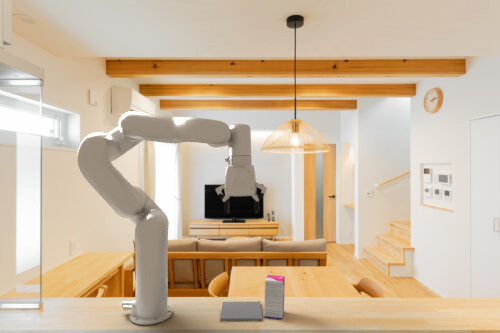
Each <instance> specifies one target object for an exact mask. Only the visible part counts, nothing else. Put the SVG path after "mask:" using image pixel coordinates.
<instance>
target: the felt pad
mask: <svg viewBox="0 0 500 333" xmlns="http://www.w3.org/2000/svg"><path fill="white" fill-rule="evenodd" d="M262 316H263V314H262V307H261V301H222V306H221V312H220V316H219V317H220V318H219V321H220V322H262V321H263V317H262Z"/></svg>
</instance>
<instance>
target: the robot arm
mask: <svg viewBox="0 0 500 333" xmlns="http://www.w3.org/2000/svg"><path fill="white" fill-rule="evenodd" d="M251 130H252V129H251V127H250V125H249V124H245V123H235V124H231V125H228V123H226V122H225V121H222V120H218V119H210V118H203V117H193V116H192V117H191V116H190V117H189V116H188V117H186V116H171V115H166V114H165V115H164V114H163V115H162V114H157V113H156V114H155V113H147V112H140V111H127V112H125V113H124V114H122V115H121V116H120V118H119V121H118V126H117V127H115V128H114V129H113V130H111V131H109V132H108V133H104V132H93V133H90V134H88V135H86V136H85V137H84V138H83V139H82V141H81V142H80V145H79V147H78V149H77V155H76V156H77V157H76V158H77V159H76V160H77V166H78V169H79V171H80V172H81V175H82V176H83V178H84V179H85V180H86V181H87V182H88V183H89V185H90V186H91V187H92V188H93V189H94V191H96V192H97V193H98V195H99V196H100V197H101V198H102V199H103V200H104V202H106V203H107V204H108V206H109V207H111V209H112V211H114V213H116V214H117V215H118V216H120V217H121V218H125V219H129V220H130V221H131V222H132V223H133V224H134V225H135V228H134V247H135V265H134V266H135V296H134V297H135V299H133V300H132V301H131V300H124V301H122V302H121V307H122V310H123V311H130V313H129V320H130V322H132V323H134V324H136V325H144V326H145V325H146V326H148V325H154V324H155V325H156V324H158V323H162V322H165V321H167V320H168V319H169V318H170V317H172V315H173V307H172V306H171V305H169V304H168V298H169V296H168V286H169V285H168V283H169V282H168V276H169V275H168V274H169V272H168V271H169V270H168V269H169V265H168V264H169V263H168V262H169V261H168V260H169V258H168V257H169V256H168V255H169V254H168V253H169V250H168V248H169V246H168V245H169V241H168V240H169V223H170V222H169V219H168V216H167V215H166V213H165V212H164V211H163V210H162V209H161V208H160V206H159V205H158V204H157V203H156V202H155V201H154V200H153V199H152V198H151V196H150V195H149V194H147V193H146V192H145V191H144V189H142V188H141V187H139V186H136V185H133V184H131V183H130V182H129V181H128V180H127V179H126V178H125V177H124V175H122V173H121V172H120V171H119V170H118V168H116V167H115V166H114V165H113V164H112V162H113V161H116V160H117V159H119V158H120V157H122V156H123V155H125V154H126V153H128V152H129V151H130V150H132V149H134V148H135V147H136V146H138V145H139V144H140V143H142V142H143V141H145V142H146V141H148V142H157V143H163V144H164V143H165V144H180V143H199V144H207V145H208V146H210V147H212V148H223V147H228V157H227V158H225V159H224V164H225V163H227V164H228V165H227V166H226V169H225V176H224V183H223V184H222V185H220V186H218V187H216V188H215V192H216V193H217V195H218V198H220V199H221V201H222V202H223V211H224V212H225V215H228V214H229V213H230V212H231V210H230V208H231V206H230V203H231V202H230V200H229V199H230V197H252V199H253V200H254V201H253V213H254V214H255V215H256V214H258V213H259V212H260V200H261V199H262V198H264V197H265V194H266V192H267V190H268V187H267V186H264V185H262V184H261V183H258V182H257V178H256V171H255V166H254V165H252V164H253V163H252V137H251V135H252V133H251V132H252V131H251ZM257 188H258V189H259V190H261V192H260V193H259V194H257V190H258V189H257ZM222 190H224V193H223V192H222ZM224 194H225V195H224Z"/></svg>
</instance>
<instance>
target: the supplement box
mask: <svg viewBox="0 0 500 333" xmlns="http://www.w3.org/2000/svg"><path fill="white" fill-rule="evenodd" d="M285 279H286V278H285V276H284V275H274V274H267V275H266V278H265V280H264V302H263V304H264V306H263V307H264V309H263V310H264V312H263V313H264V314H263V319H269V320H270V319H272V320H273V319H274V320H281V321H282V320H283V316H284V313H285Z"/></svg>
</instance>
